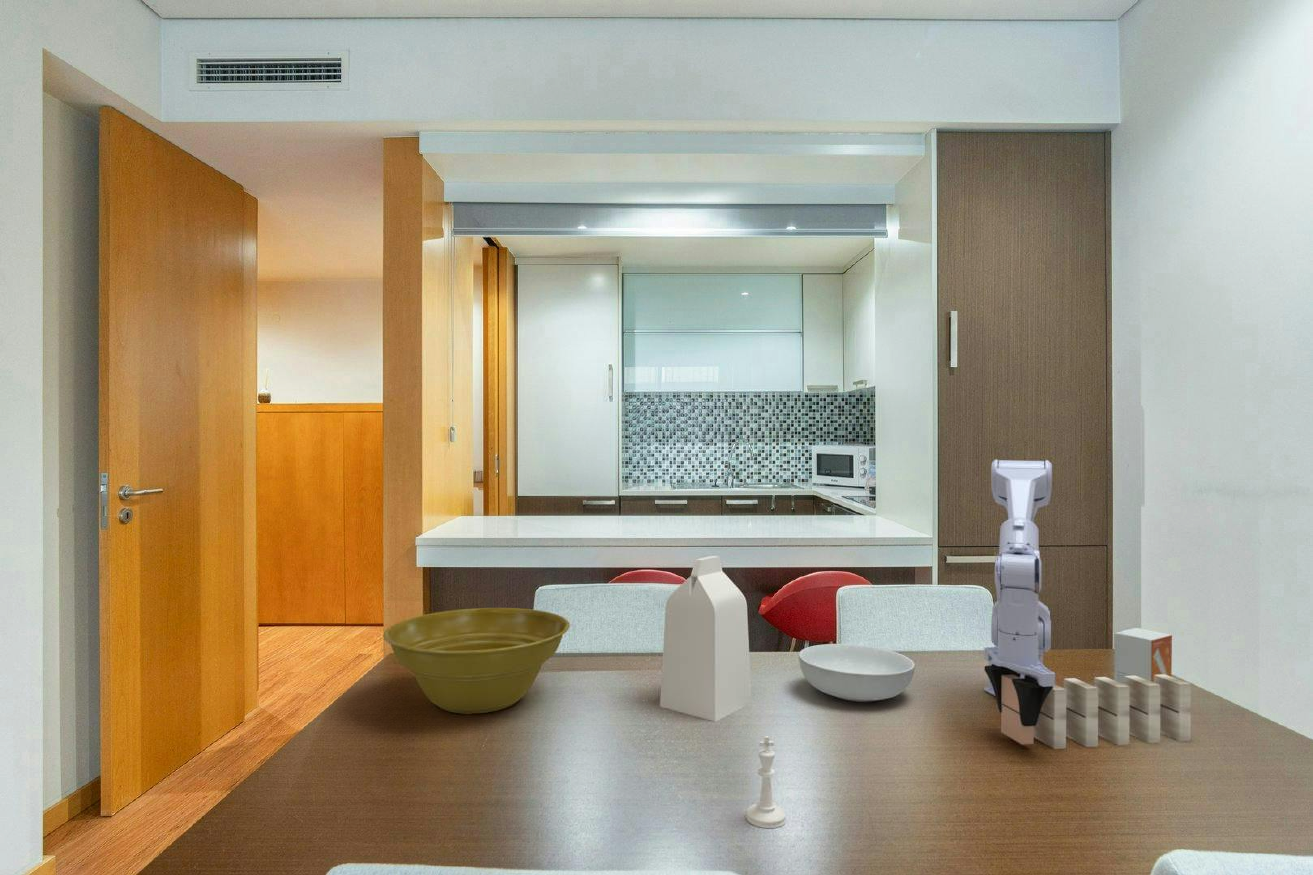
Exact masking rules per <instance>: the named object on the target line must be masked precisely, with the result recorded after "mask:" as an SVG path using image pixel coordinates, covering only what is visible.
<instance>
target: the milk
mask: <svg viewBox="0 0 1313 875" xmlns="http://www.w3.org/2000/svg"><path fill="white" fill-rule="evenodd" d="M721 562H722V561H721V557H720V556H719V555H711V556H705V557H700V558H695V559H694V563H693V566H692V570H691V573H690V576H689V577H688V578H686V579H685V581H683V583H682V584H680V586H678V587H677V588H676V589H675V590H674V591H673V592H672V593H671V594H670V595H669V597H668V599H667V600H666V603H665V609H664V610H665V613H664V630H663V643H662V644H663V645H662V646H663V647H662V664H661V665H662V667H661V683H660V697H659V698H660V699H659V700H660V701H659V707H660V708H665V709H668V710H671V711H675V712H679V713H683V714H686V715H690V716H693V717H697V718H699V719H700V718H701V719H703V720H708V721H712V722H717V721H719V720H721V719H723V718H725V717H727V716H729V715H731V714H732V713H735V712H736V711H738V710H740V709H741V708H745V707H746V706H748V705H749V704H752V687H751V682H752V681H751V666H750V663H751V662H750V661H751V660H750V644H749V643H750V642H749V641H750V640H749V624H748V623H749V622H748V604H747V599H746V597H745V596H744V594H743V592H742V591H741V590H740V588H738V587H737V585H736V584H735V583H734V582H733V581H732V580H731V579H730V578H729V576H727V574H726V573H725V572H724V571H723V567H722V563H721Z"/></svg>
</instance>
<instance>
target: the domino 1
mask: <svg viewBox="0 0 1313 875" xmlns="http://www.w3.org/2000/svg"><path fill="white" fill-rule="evenodd" d="M1033 739H1036V740H1038V741H1040V742H1042V743H1043V744H1045V745H1046V746H1049V747H1050V748H1052V749H1054V750H1061V749H1062V750H1063V749H1066V748H1067V736H1066V689H1064V687H1061V686H1059V685H1057V684H1055V686H1053V689H1052V690H1051V691H1050V692H1049V694H1048V695H1047V697H1046V699H1045V701H1044V703H1043V705H1042V708H1041V711H1040V714H1039V718H1038V721H1037V724H1036V726H1034V736H1033Z"/></svg>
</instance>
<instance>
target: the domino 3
mask: <svg viewBox="0 0 1313 875" xmlns="http://www.w3.org/2000/svg"><path fill="white" fill-rule="evenodd" d="M1093 679H1094V681H1093V683H1094V684H1093V686H1094V687H1097V688H1098V737H1101V738H1103V739H1105V740H1107V741H1109V742H1111V743H1112V744H1114V745H1117V746H1128V745H1130V734H1129V686H1127V685H1124V684H1122V683H1119V682H1117V681H1114V679H1112V678H1109V677H1107V676H1098V677H1097V676H1096V677H1094V678H1093Z"/></svg>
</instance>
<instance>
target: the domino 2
mask: <svg viewBox="0 0 1313 875" xmlns="http://www.w3.org/2000/svg"><path fill="white" fill-rule="evenodd" d="M1063 688H1064V689H1066V738H1069V739H1071V740H1072V741H1075V742H1076V743H1078V744H1080V745H1082V746H1084V747H1085V748H1093V747H1095V748H1096V747H1099V744H1098V743H1099V735H1098V688H1097V687H1094V685H1092V684H1090V683H1087V682H1085V681H1082V680H1080V679H1077V678H1076V677H1075V678H1070V677H1069V678H1063Z"/></svg>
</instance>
